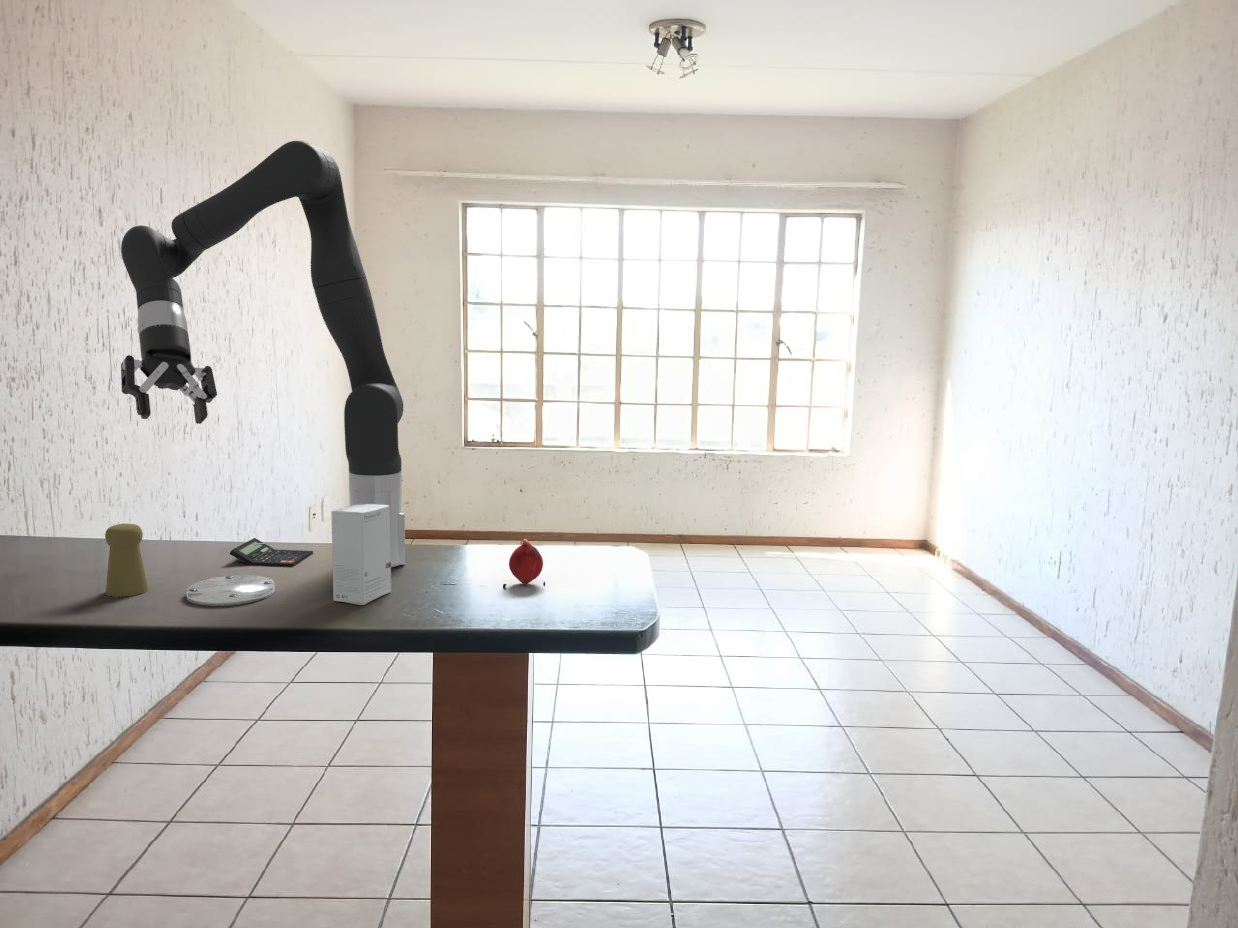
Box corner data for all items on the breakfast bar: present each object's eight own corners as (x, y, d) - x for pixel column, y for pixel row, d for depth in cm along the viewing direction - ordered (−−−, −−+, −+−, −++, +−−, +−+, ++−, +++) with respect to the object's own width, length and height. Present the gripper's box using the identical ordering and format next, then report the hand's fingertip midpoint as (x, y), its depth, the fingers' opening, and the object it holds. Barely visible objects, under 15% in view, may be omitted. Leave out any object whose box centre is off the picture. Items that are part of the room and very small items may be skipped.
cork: (129, 598, 136) (125, 530, 135) (96, 595, 137) (92, 527, 136) (157, 587, 142) (153, 522, 140) (125, 584, 143) (121, 519, 142)
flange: (270, 578, 149) (270, 571, 149) (278, 600, 138) (278, 592, 137) (186, 586, 143) (185, 579, 143) (187, 610, 132) (186, 601, 131)
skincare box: (363, 606, 136) (362, 513, 134) (330, 601, 138) (328, 509, 136) (393, 591, 144) (392, 503, 142) (361, 587, 146) (360, 500, 143)
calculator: (293, 568, 157) (292, 552, 156) (229, 566, 157) (229, 549, 157) (313, 555, 166) (312, 539, 166) (253, 552, 166) (252, 537, 166)
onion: (548, 582, 152) (549, 538, 151) (531, 591, 147) (532, 545, 145) (520, 577, 154) (520, 533, 153) (502, 585, 149) (502, 540, 148)
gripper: (126, 315, 141) (135, 405, 136) (215, 330, 151) (227, 413, 146) (110, 338, 145) (118, 425, 140) (198, 350, 156) (208, 432, 151)
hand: (174, 419), depth 143 cm, fingers open, 8 cm apart
